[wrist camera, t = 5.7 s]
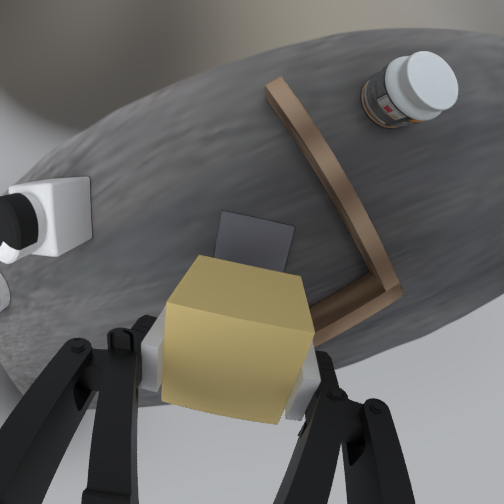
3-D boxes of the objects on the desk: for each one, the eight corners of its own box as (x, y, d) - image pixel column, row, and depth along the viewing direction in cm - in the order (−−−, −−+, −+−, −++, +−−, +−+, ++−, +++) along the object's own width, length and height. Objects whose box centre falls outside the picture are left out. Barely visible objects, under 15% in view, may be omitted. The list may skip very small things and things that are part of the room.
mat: (320, 267, 30) (320, 268, 29) (237, 314, 32) (237, 315, 32) (266, 181, 27) (266, 182, 27) (181, 238, 29) (181, 238, 29)
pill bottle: (390, 139, 25) (443, 134, 16) (348, 100, 25) (386, 74, 15) (418, 104, 24) (473, 87, 14) (378, 65, 23) (422, 31, 14)
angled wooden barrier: (386, 275, 30) (404, 294, 25) (234, 359, 34) (229, 386, 29) (278, 90, 25) (280, 76, 20) (118, 205, 29) (94, 213, 24)
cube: (300, 276, 17) (314, 332, 11) (276, 356, 19) (277, 424, 13) (199, 254, 17) (166, 301, 11) (187, 338, 19) (161, 400, 13)
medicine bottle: (47, 179, 28) (-26, 194, 17) (91, 176, 28) (14, 189, 16) (50, 235, 30) (-17, 267, 19) (93, 238, 30) (25, 276, 19)
